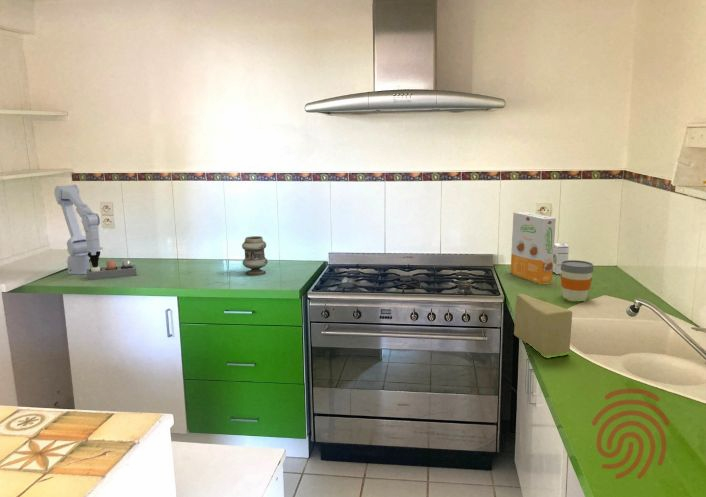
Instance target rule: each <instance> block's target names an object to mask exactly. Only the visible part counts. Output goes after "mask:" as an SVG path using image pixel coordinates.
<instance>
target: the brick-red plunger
mask: <svg viewBox="0 0 706 497" xmlns="http://www.w3.org/2000/svg"><path fill="white" fill-rule="evenodd" d="M105 263H106V267H107V270H116V260H108V261H106V262H105Z"/></svg>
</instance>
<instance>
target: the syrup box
mask: <svg viewBox="0 0 706 497" xmlns="http://www.w3.org/2000/svg"><path fill="white" fill-rule="evenodd" d="M569 249H570V245H568V244H566V243H564V242H563V243H561V242H560V243H558V242H557V243H554V253H553V269H552V271H553V272H555V273H556V274H558V273H562V272H561V264H562V262H563V261H567V260H569V252H570V251H569ZM553 272H552V273H553ZM556 274H555V275H556Z"/></svg>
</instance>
